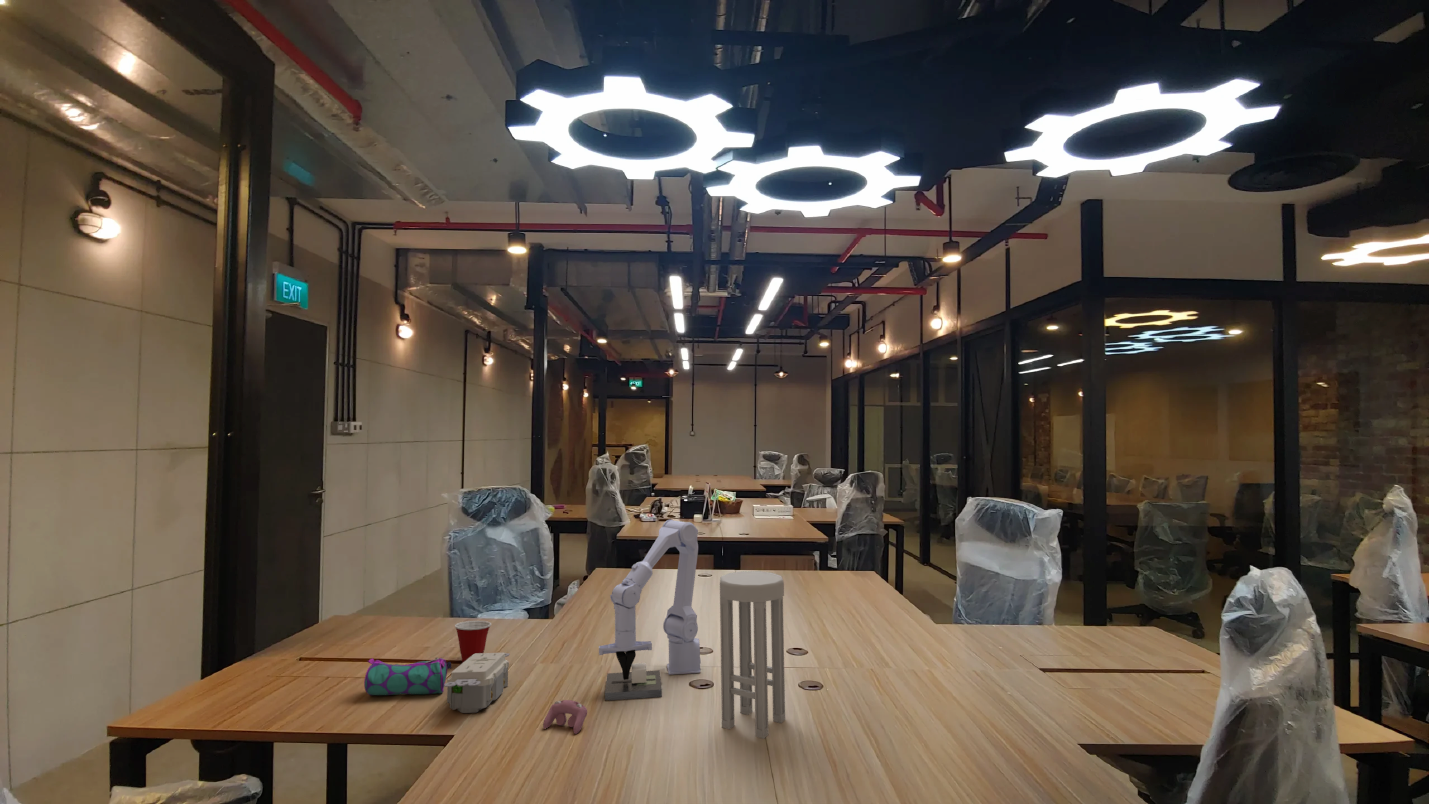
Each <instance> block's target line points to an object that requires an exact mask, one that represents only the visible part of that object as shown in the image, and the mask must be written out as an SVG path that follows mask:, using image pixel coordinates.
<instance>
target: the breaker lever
mask: <svg viewBox="0 0 1429 804" xmlns="http://www.w3.org/2000/svg"><path fill="white" fill-rule="evenodd" d="M646 671H647V662H637V663H632V666H631V672H632V683H644V682H646Z"/></svg>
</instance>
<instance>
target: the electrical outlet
mask: <svg viewBox="0 0 1429 804" xmlns="http://www.w3.org/2000/svg"><path fill="white" fill-rule="evenodd" d="M509 656H510V652H509V653H508V652H484V653H476V654H473V655H472V656H471V657H470V658H468V659H467V660H466V661H465V662H461V664H460V665H458V666H457V667H456V668H455V669H453V670H452V671H451V674H450V675H451V676H450V677H449V678H446V680H447V681H446V682H445V685H444V688H447V693H446V696H447V697H446V702H447V704H449V709H451V710H452V711H453V710H455V711H456V710H457V712H460V713H461V714H471V713H473V714H474V713H478V712H479V711H482V709H485V708H487V707H488V706H490V704H491V703H492V702H493V701H497V699H498V698H499V697H500V696H501V694H503V693H504V688H505V687H508V685H509V683H508V682H509V667H510V662H509V660H507V659H506V658H507V657H509Z"/></svg>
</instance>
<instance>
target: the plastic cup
mask: <svg viewBox="0 0 1429 804" xmlns="http://www.w3.org/2000/svg"><path fill="white" fill-rule="evenodd" d="M491 626H492V622H489V621H488V620H487V621H486V620H467V621H461V622H457V623H456V624H454V628H455V629H456V634H457V639H458V645H459V653H460V655H461V663H463V662H465V661H466V660H467V659H468V658H470V657H471V656H472V655H473V654H476V653H485V649H486V643H487V638H488V633H489V630H490V627H491Z"/></svg>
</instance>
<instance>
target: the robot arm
mask: <svg viewBox="0 0 1429 804" xmlns="http://www.w3.org/2000/svg"><path fill="white" fill-rule="evenodd" d="M698 536H699V530H698V528H697V527H696V526H695V524H694V523H692V522H690V521H679V520H675V519H667V520H666V521H664V522H663V524H662V526H661V527H660V528H659V529H658V536H657V537H656V539H655V541H654V543H652V546H651V548H650V549H649V550H648V552H647V553H646V554H645V557H644V558H643V560H641V561H638V562H636V563H634V564H633V565H632V566H631V569H630V571H629V572H628V574H627V575H626V576H625V578H624V579H622V581H621V583H619V584H616V586H614V588H613V589H612V591H611V594H610V595H609V597H610V601H611V603H613V609H614V638H615V639H614V642H613V643H609V644H603V645H598V655H599V656H603V655H606V654H607V655H608V654H615V655H616V658H617V661H618V663H619V665H620V668H621V673H622V672H623V679H624V680H627V679H629V673H630V672H631V670H632V664H634V661H635V658H636V655H637V654H636V653H637V652H638V651H639V652H640V651H653V643H652V641H651V640H647V641H644V640H643V641H641V640H640V641H639V640H638V641H637V639H636V638H637V637H636V636H637V635H636V634H637V631H636V629H637V628H636V626H637V624H636V619H637V618H636V609H637V608H636V606H637V605H638V603H640V600H641V594H642V591H643V589H644V588H645V586H646V585H647V583H648V582H649V580H650V579H651V578H652V576H653V568H654V566H655V565H656V564H657V563H658V561H659V560H660V559H662V557H663V556H664V554H665V553H666V552H667V551H668V549H670V548H676V549H677V551H679V557H678V565H677V572H676V580H675V588H674V589H675V590H674V595H673V597H674V599H673V603H672V604H673V605H671V607H669V608H668V609H667V612H666V615H665V616H666V617H665V618H664V621H663V624H662V625H663V626H662V628H663V631H664V633H665V635H666V637H667V639H668V663H667V664H666V667H667V668H666V669H667V674H668V675H683V674H699V673H701V664H702V662H701V661H702V660H701V644H700V638H698V637H696V636H697V634H698V630H699V626H698V622H697V620H698V614H697V613H696V611H695V610H694V608H693V605H692V603H693V599H694V598H693V596H694V587H695V581H696V580H695V579H696V573H697V572H696V570H697V562H698V554H699V544H698V543H699V542H698Z"/></svg>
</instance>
